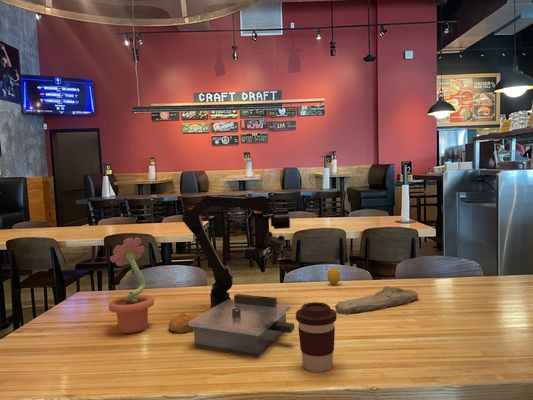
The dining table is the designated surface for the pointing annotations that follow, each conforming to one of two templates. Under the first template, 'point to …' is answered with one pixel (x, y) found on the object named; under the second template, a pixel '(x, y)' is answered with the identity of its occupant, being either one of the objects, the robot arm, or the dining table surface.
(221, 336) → the grey metal box
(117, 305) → the decorative flower
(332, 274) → the lemon
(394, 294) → the elongated rock
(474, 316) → the dining table surface
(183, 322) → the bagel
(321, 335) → the coffee cup
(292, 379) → the dining table surface
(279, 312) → the lid
